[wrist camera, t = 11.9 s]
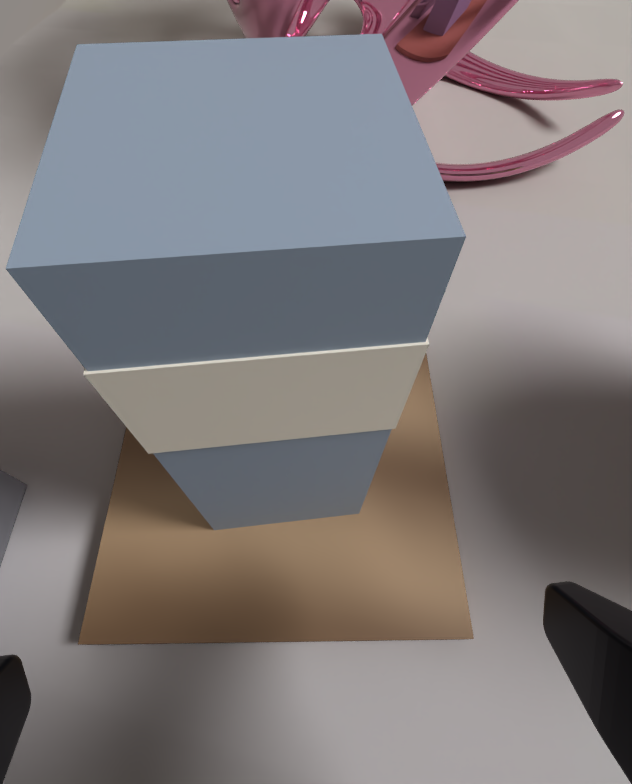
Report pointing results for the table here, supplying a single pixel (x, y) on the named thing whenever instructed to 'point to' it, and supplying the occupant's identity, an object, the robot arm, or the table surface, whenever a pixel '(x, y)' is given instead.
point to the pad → (285, 558)
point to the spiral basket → (442, 62)
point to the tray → (8, 507)
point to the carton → (243, 259)
